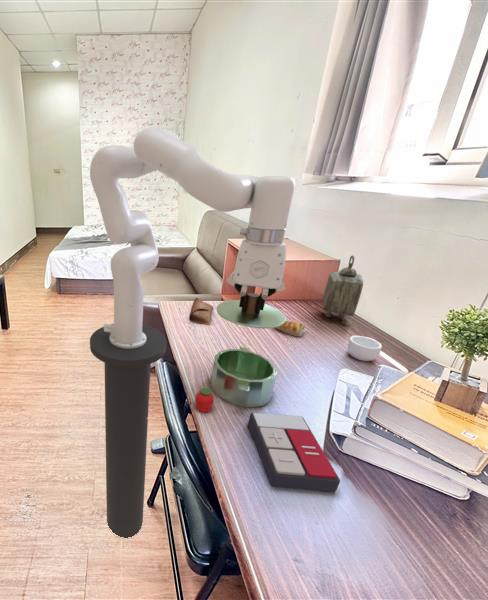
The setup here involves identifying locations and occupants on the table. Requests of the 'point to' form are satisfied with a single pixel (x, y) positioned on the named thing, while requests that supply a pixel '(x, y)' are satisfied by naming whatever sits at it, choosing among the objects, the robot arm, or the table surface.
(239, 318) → the lid
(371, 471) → the table surface
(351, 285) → the tabletop clock
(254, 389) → the tin
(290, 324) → the pastry
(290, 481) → the calculator
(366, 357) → the teacup
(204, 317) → the sunglasses case
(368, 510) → the table surface
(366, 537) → the table surface
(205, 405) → the strawberry
